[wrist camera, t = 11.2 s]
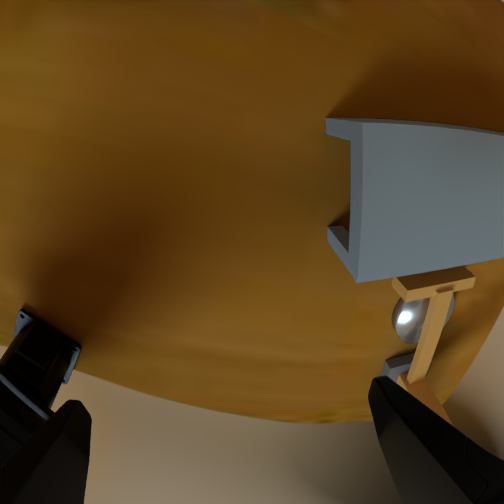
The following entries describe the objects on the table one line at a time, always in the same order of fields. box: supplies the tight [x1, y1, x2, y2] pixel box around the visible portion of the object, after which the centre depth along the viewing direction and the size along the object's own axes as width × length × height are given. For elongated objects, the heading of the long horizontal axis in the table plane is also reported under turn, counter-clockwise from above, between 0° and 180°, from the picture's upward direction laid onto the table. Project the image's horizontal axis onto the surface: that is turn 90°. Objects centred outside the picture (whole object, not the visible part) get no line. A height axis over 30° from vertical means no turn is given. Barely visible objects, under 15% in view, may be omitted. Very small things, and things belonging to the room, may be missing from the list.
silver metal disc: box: [392, 295, 454, 344], centre depth 24 cm, size 6×6×1 cm
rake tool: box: [381, 266, 476, 425], centre depth 20 cm, size 14×7×13 cm, turn 5°
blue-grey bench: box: [325, 118, 504, 283], centre depth 17 cm, size 8×18×6 cm, turn 95°
